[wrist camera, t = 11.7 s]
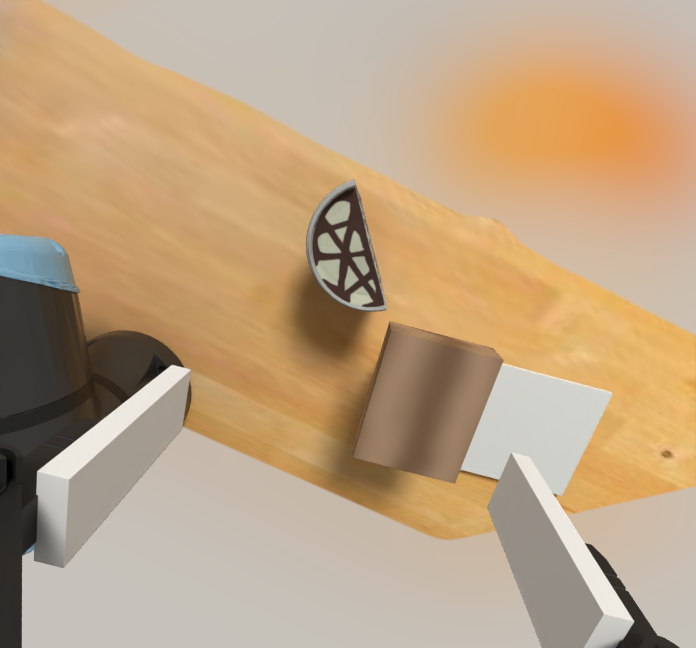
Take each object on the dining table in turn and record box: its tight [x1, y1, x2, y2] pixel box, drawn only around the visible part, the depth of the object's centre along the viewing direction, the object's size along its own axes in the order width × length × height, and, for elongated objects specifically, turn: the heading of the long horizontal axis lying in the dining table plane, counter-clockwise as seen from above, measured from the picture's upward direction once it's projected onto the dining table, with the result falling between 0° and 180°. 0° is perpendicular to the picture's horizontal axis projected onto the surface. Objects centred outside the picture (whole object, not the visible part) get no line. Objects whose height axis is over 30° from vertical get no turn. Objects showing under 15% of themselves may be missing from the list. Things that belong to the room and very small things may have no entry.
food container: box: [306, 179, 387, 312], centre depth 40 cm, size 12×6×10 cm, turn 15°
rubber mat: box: [460, 363, 612, 496], centre depth 50 cm, size 16×15×1 cm
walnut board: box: [353, 321, 504, 484], centre depth 38 cm, size 10×13×3 cm
